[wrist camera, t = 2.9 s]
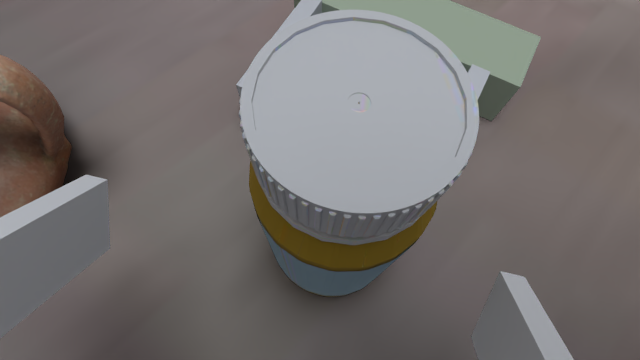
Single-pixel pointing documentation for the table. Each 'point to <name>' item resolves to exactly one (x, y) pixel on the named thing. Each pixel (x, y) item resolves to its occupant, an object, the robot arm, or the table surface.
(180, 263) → the table surface
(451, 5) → the green-backed grey tray
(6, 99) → the ceramic jug
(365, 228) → the bottle
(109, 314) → the table surface
